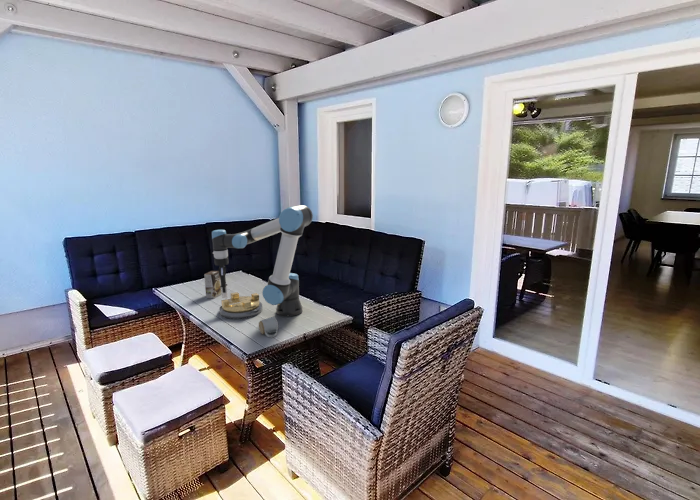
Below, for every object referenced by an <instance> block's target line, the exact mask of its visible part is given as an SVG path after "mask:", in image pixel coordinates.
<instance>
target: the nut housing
mask: <svg viewBox="0 0 700 500" xmlns="http://www.w3.org/2000/svg"><path fill="white" fill-rule="evenodd" d="M259 304H260V305H259V307H258V308H257V309H255V310H252V311H249V312H244V313H228V312H225V311H223V310H222V305H220V307H219V309H218V310H219V316H220V317H221V318H222V319H225V320H226V319H227V320H244V319H249V318H253V317H256V316H257V315H259V314H261V313H262V312H263V304H262V302H261V301H259Z"/></svg>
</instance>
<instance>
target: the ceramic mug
mask: <svg viewBox="0 0 700 500" xmlns="http://www.w3.org/2000/svg"><path fill="white" fill-rule="evenodd" d="M278 324H279V323H278V320H277V318H276V317H275V316H272V317H267V318H264V319H261V320H260V321H259V322H258V329H259V332H260V333H261V334H262V335H265V336H266V337H268V338H275V337H276V336H277V335H278V331H279V325H278ZM271 333H274V334H271Z"/></svg>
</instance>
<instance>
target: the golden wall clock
mask: <svg viewBox="0 0 700 500" xmlns="http://www.w3.org/2000/svg"><path fill="white" fill-rule="evenodd" d="M220 302H221V306H222V310H223V311H225V312H228V313H244V312H249V311H252V310H255V309H257V308H258V307H259V305H260V304H259V302H260V294H259V293H257V292H253V293H251V296H249V295H248V296H247V295H246V296H244V295H243V296H242V295H240V293H239V292H237V291H236V292H231V293H230V298H228V299H227V298H226V299H225V298H224V299H221V301H220Z"/></svg>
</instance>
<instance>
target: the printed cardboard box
mask: <svg viewBox="0 0 700 500" xmlns="http://www.w3.org/2000/svg"><path fill="white" fill-rule="evenodd" d="M203 276H204V277H203V278H204V289H205V298H206V299H216V298H218V297H220V296H222V289H221V287H220V286H221V280H220V276H219V271H218V270H210V271H208V272H206V273H204V275H203Z"/></svg>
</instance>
